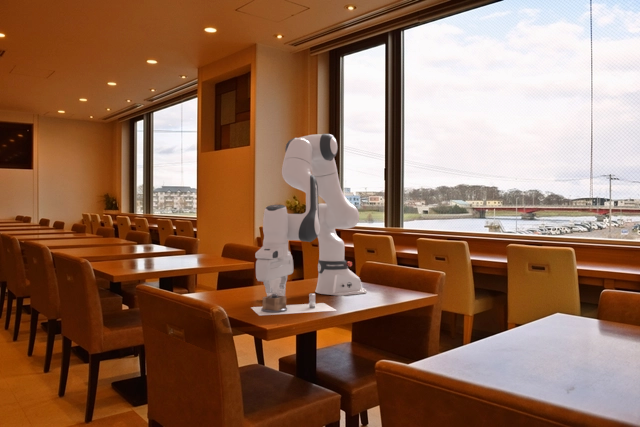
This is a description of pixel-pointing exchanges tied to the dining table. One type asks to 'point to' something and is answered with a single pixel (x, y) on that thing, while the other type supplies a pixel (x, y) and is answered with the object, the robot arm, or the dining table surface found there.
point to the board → (298, 309)
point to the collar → (274, 303)
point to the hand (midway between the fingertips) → (275, 290)
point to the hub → (274, 310)
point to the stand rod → (311, 300)
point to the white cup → (276, 287)
